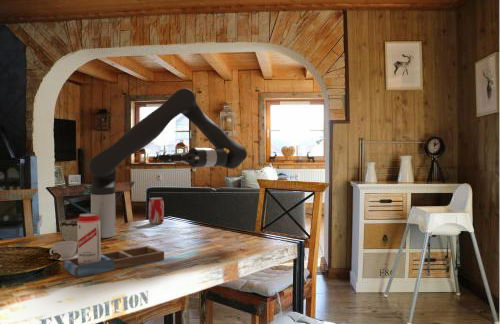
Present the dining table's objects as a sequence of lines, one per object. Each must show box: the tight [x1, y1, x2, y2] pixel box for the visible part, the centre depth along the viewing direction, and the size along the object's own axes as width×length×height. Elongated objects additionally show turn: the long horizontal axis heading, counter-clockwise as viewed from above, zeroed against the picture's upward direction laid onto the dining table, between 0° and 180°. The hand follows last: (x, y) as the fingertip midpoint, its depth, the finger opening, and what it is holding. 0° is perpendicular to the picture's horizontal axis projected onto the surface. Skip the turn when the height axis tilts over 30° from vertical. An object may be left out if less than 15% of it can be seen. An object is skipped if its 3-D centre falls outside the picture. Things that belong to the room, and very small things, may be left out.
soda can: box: [148, 196, 165, 225], centre depth 189 cm, size 7×7×12 cm
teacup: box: [49, 241, 78, 262], centre depth 129 cm, size 10×10×5 cm
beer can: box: [77, 212, 102, 265], centre depth 116 cm, size 6×6×16 cm
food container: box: [59, 218, 79, 252], centre depth 140 cm, size 12×6×10 cm, turn 71°
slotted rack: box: [62, 245, 165, 278], centre depth 121 cm, size 11×27×3 cm, turn 131°
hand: (164, 157), depth 142 cm, fingers open, 8 cm apart
